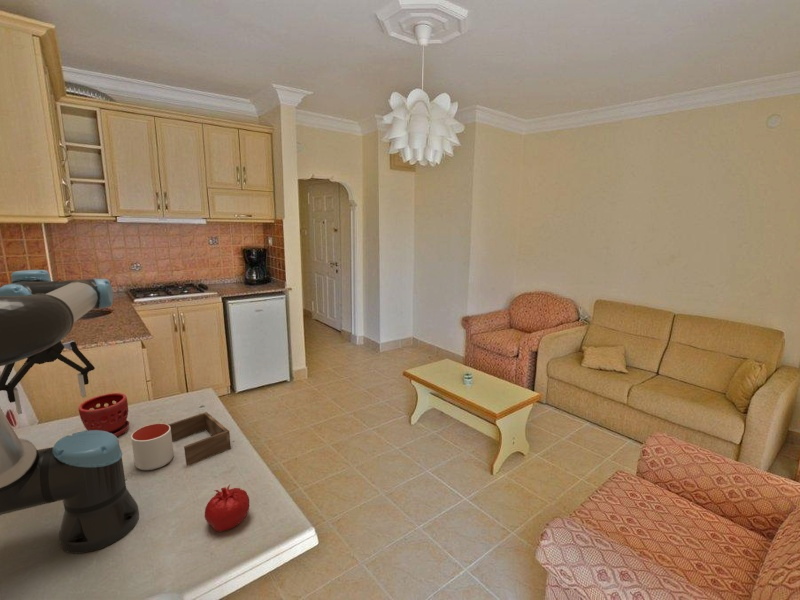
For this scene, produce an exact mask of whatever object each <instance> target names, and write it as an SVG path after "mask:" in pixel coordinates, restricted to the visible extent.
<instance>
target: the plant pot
mask: <svg viewBox="0 0 800 600" xmlns="http://www.w3.org/2000/svg"><path fill="white" fill-rule="evenodd" d="M114 402H115V403H114ZM105 404H107V406H105ZM97 405H100V406H97ZM77 409H78V415H79V417H80V420H81V423H82V424H83V427H84V428H85V429H86V431H90V430H100V431H107V432H109V433H112V434H114V435H115V436H116V437H118V436H120V435H122V434H124V433H125V432H126V431H127V430H128V429H129V427H130V421H129V420H127V419H128V416H129V403H128V398H127V395H126V394H125V393H121V392H114V393H113V392H112V393H106V394H100V395H97V396H94V397H92V398H89V399H87V400H85V401H83V402H82V403H81V404H80V405H79V406H78V408H77Z"/></svg>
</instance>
